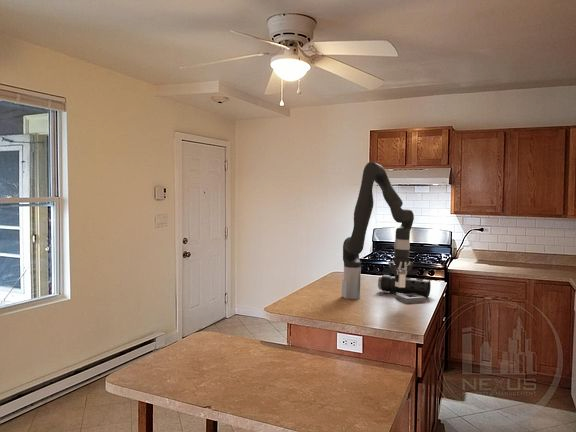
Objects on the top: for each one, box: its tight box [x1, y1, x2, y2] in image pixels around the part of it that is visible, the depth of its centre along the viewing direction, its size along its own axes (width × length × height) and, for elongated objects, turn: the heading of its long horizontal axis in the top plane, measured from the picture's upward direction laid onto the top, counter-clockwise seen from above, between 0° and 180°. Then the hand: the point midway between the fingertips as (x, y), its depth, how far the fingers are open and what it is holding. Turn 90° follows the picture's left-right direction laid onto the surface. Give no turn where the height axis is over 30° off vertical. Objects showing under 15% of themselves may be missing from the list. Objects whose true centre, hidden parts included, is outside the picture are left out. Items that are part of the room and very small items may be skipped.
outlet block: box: [395, 293, 427, 304], centre depth 234 cm, size 12×10×3 cm
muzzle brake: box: [377, 274, 432, 299], centre depth 248 cm, size 10×28×10 cm, turn 61°
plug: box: [395, 269, 407, 288], centre depth 221 cm, size 3×4×8 cm
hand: (400, 281), depth 221 cm, fingers closed on plug, 3 cm apart
